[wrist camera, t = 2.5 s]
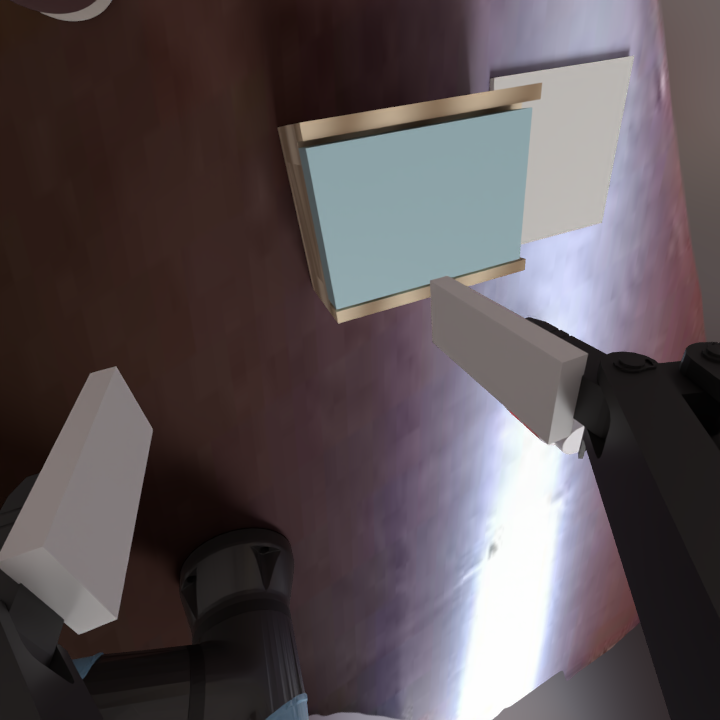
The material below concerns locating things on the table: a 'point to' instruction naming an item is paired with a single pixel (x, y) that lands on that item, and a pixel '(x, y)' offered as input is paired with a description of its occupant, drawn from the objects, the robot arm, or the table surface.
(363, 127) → the box
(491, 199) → the lid
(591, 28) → the table surface
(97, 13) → the coffee cup
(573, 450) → the pill bottle
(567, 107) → the mat
